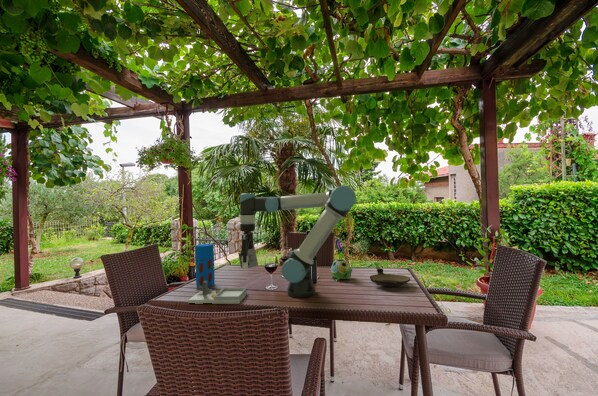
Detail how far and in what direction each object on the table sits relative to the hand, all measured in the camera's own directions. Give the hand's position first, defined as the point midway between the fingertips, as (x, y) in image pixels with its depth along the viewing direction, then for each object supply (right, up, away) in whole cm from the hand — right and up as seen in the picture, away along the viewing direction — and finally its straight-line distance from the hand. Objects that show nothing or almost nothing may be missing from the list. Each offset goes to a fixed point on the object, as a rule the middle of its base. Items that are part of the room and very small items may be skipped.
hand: (247, 266), depth 153 cm
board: (-16, -18, +4) cm, 24 cm away
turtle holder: (+54, -16, +34) cm, 66 cm away
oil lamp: (+79, -15, +20) cm, 83 cm away
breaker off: (-22, -15, +7) cm, 27 cm away
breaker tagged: (-22, -15, +1) cm, 27 cm away
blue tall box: (-31, -19, +29) cm, 46 cm away
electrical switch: (0, -1, 0) cm, 1 cm away
